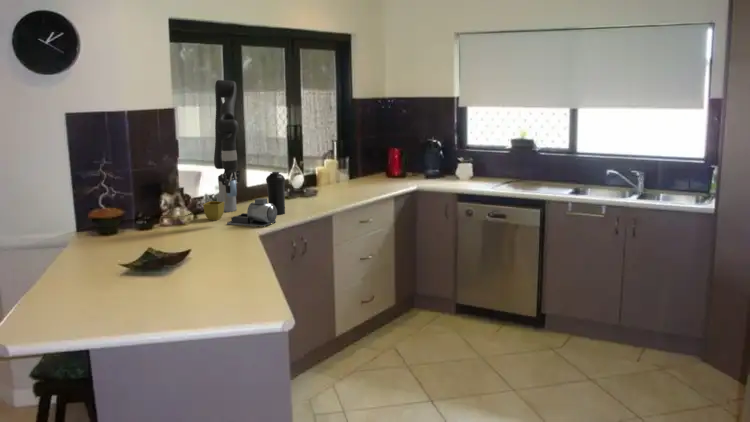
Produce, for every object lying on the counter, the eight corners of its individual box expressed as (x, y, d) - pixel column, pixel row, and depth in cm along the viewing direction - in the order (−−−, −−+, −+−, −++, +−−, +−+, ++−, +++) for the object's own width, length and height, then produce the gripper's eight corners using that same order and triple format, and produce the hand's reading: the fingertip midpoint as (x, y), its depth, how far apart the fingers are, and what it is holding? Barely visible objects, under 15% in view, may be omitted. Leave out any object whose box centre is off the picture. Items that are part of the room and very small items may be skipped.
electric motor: (227, 224, 363) (225, 199, 360) (240, 219, 373) (238, 195, 371) (267, 227, 353) (266, 201, 351) (279, 222, 364) (278, 197, 361)
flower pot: (219, 221, 371) (217, 204, 369) (203, 220, 373) (202, 204, 371) (225, 217, 379) (224, 201, 378) (210, 217, 381) (209, 201, 379)
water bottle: (288, 211, 392) (286, 171, 387) (284, 215, 382) (282, 173, 377) (270, 211, 393) (268, 171, 388) (265, 215, 383) (263, 173, 378)
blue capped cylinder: (224, 196, 358) (223, 178, 357) (230, 194, 363) (229, 176, 361) (232, 196, 356) (231, 178, 354) (238, 195, 361) (237, 177, 359)
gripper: (231, 157, 364) (233, 189, 367) (214, 160, 351) (217, 194, 354) (243, 157, 361) (245, 190, 364) (227, 161, 348) (229, 195, 351)
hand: (231, 191), depth 359 cm, fingers closed on blue capped cylinder, 5 cm apart
